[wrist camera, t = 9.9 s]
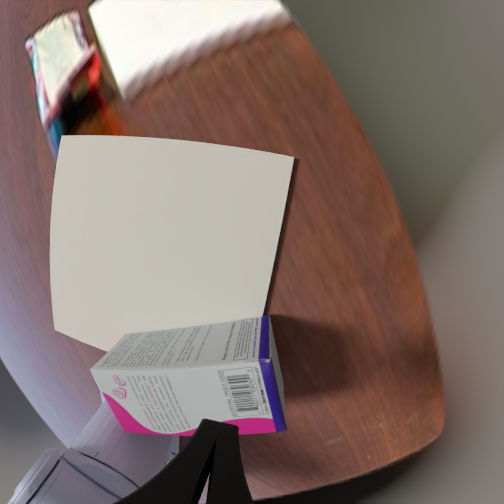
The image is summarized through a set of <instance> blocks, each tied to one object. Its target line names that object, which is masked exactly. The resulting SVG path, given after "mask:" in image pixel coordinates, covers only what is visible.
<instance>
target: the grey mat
mask: <svg viewBox="0 0 504 504" xmlns="http://www.w3.org/2000/svg"><path fill="white" fill-rule="evenodd" d="M293 161H294V157H290V156H285V155H280V154H275V153H269V152H264V151H258V150H252V149H246V148H239V147H233V146H226V145H218V144H211V143H202V142H194V141H184V140H174V139H162V138H148V137H130V136H97V135H75V136H62V137H61V142H60V147H59V153H58V159H57V165H56V172H55V180H54V188H53V198H52V210H51V228H50V279H51V296H52V308H53V318H54V327H55V330H56V331H59V332H61V333H63V334H65V335H68V336H70V337H72V338H75V339H77V340H79V341H82V342H84V343H87V344H89V345H92V346H94V347H97V348H99V349H102V350H105V351H107V352H108V351H109V350H110V349H111V348H112V347H113V346H114V345H115V344H116V343H117V342H118V341H119V340H120V339H121V338H122V337H123V336H124V335H125V334H129V333H140V332H151V331H160V330H169V329H178V328H187V327H194V326H202V325H210V324H217V323H224V322H231V321H237V320H242V319H249V318H255V317H261V316H263V312H264V307H265V303H266V298H267V293H268V289H269V284H270V279H271V274H272V269H273V265H274V260H275V255H276V250H277V245H278V240H279V235H280V230H281V225H282V220H283V215H284V209H285V204H286V199H287V194H288V188H289V183H290V178H291V172H292V167H293Z"/></svg>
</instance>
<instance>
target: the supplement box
mask: <svg viewBox="0 0 504 504" xmlns="http://www.w3.org/2000/svg"><path fill="white" fill-rule="evenodd" d="M90 371H91V373H92V375H93V377H94V379H95V381H96V383H97V385H98V387H99V389H100V391H101V392H102V394H103V396H104V398H105V400H106V401H107V403H108V405H109V407H110V408H111V410H112V412H113V413H114V415H115V417H116V418H117V420H118V422H119V423H120V425H121V427H122V428H123V430H124V431H125V432H131V433H141V434H154V435H171V436H192V435H193V434H194V432H195V431H196V429H197V428H198V426H199V424H200V422H201V420H202V419H205V418H206V419H210V420H214V421H219V422H223V423H228V424H233V425H237V426H238V427H239V435H247V434H260V433H270V432H279V431H286V430H287V427H286V414H285V401H284V386H283V377H282V373H281V369H280V364H279V359H278V354H277V349H276V345H275V340H274V335H273V330H272V324H271V319H270V316H269V315H266V316H261V317H255V318H249V319H242V320H237V321H231V322H224V323H217V324H210V325H202V326H194V327H187V328H178V329H169V330H160V331H151V332H140V333H129V334H125V335H124V336H123V337H122V338H121V339H120V340H119V341H118V342H117V343H116V344H115V345H114V346H113V347H112V348H111V349H110V350H109V351H108V352H107V354H106V355H105V356H104V357H103V358H102V359H101V360H99V361H98V362H97V363H96V364H95V365H94V366H93V367H92V368H91V369H90Z"/></svg>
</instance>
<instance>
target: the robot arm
mask: <svg viewBox="0 0 504 504" xmlns="http://www.w3.org/2000/svg"><path fill="white" fill-rule="evenodd" d="M100 392H101V391H100ZM101 399H102V405H101V406H100V408H99V409H98V410H97V412H96V413H95V414H94V416H93V417H92V418H91V420H90V421H89V422H88V423H87V425H86V426H85V427H84V429H83V430H82V431H81V433H80V434H79V435H78V437H77V438H76V440H75V441H74V442H73V444H72V445H71V446H70V448H69V449H68V450H67V451H66V452H65V453H64V454H63V455H62V456H61V454H62V453H61V452H60V451H59V450H58V449H56V448H55V449H54V450H53V449H46V450H45V452H44V453H43V454H42V455H41V457H40V458H39V459H38V460H37V462H36V463H35V464H34V465H33V467H32V468H31V469H30V470H29V472H28V473H27V474H26V476H25V477H24V478H23V480H22V481H21V482H20V484H19V485H18V486H17V488H16V489H15V490H14V493H15V494H14V495H13V497H12V498H11V499H10V501H9V502H8V503H7V504H198V502H199V500H200V497H201V494H202V492H203V489H204V486H205V484H206V481H207V478H208V476H209V473H210V476H209V484H208V492H207V500H206V504H254V502H253V500H252V497H251V494H250V491H249V488H248V485H247V482H246V478H245V474H244V470H243V466H242V461H241V456H240V448H239V427H238V426H237V425H233V424H228V423H223V422H219V421H214V420H210V419H206V418H205V419H202V420H201V422H200V424H199V426H198V428H197V429H196V431H195V432H194V434H193V435H192V437H191V438H190V439H189V441H188V442H187V443H186V444H185V446H184V447H183V448H182V449H181V450H180V452H179V441H180V436H171V435H154V434H141V433H131V432H125V431H124V430H123V428H122V427H121V425H120V423H119V422H118V420H117V418H116V417H115V415H114V413H113V412H112V410H111V408H110V407H109V405H108V403H107V401H106V400H105V398H104V396H103V394H102V392H101ZM168 459H170V460H171V461H170V462H169V463H168V464H167V461H168ZM166 464H167V465H166Z"/></svg>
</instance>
